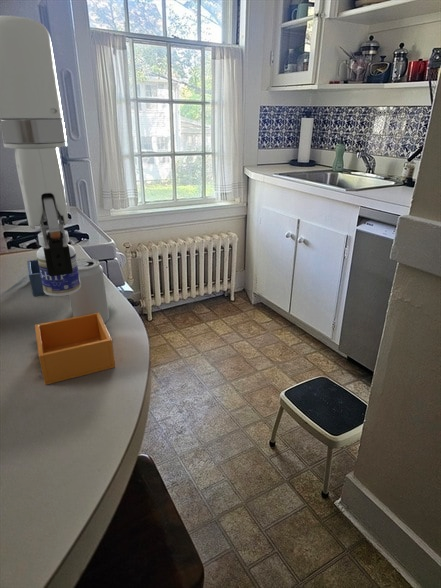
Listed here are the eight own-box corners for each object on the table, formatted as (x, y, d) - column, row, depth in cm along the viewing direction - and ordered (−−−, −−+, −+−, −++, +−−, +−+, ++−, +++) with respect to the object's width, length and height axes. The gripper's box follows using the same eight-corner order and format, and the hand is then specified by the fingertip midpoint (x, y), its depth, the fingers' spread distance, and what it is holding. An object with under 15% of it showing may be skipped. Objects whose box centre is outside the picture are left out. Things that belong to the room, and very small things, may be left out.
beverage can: (108, 329, 72) (99, 268, 67) (71, 332, 71) (60, 270, 66) (111, 313, 78) (103, 256, 73) (77, 315, 77) (67, 258, 72)
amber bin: (45, 385, 57) (38, 356, 55) (40, 350, 66) (34, 324, 63) (115, 367, 61) (111, 339, 59) (102, 337, 70) (99, 312, 68)
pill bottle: (37, 297, 57) (24, 237, 53) (53, 282, 62) (43, 227, 58) (73, 297, 57) (62, 238, 53) (86, 283, 61) (78, 228, 58)
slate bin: (33, 296, 85) (28, 275, 83) (31, 280, 93) (26, 260, 91) (82, 288, 89) (78, 267, 87) (75, 273, 98) (72, 254, 95)
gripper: (2, 133, 56) (28, 254, 63) (0, 138, 42) (34, 293, 49) (58, 132, 59) (76, 248, 66) (74, 137, 45) (95, 283, 52)
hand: (58, 266), depth 58 cm, fingers closed on pill bottle, 5 cm apart
